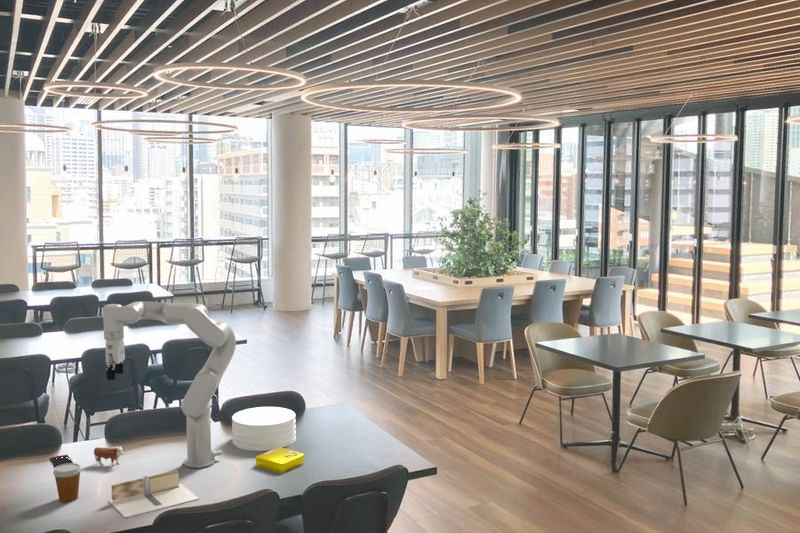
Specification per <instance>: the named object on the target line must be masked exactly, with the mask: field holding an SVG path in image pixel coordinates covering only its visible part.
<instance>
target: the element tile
mask: <svg viewBox="0 0 800 533" xmlns="http://www.w3.org/2000/svg"><path fill="white" fill-rule="evenodd" d="M304 461H305V459H304V453H303V452H299V451H296V450H292V449H289V448H286V447H284V448H281V447H279V448H276V449H273V450H267V451H264V452H263V453H261V454H258V455H256V456H255V466H256V467H257V468H260V469H263V470H266V471H270V472H273V473H278V474H283V473H286V472H288V471H291V470H292V469H296V468H297V467H300V466H301V465H303V464H305V462H304Z"/></svg>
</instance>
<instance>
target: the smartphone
mask: <svg viewBox="0 0 800 533" xmlns="http://www.w3.org/2000/svg"><path fill="white" fill-rule="evenodd" d="M61 457H63V458H61ZM66 457H68V458H69V459H70V460H69V459H68V458H66ZM56 458H57V459H56ZM49 460H50V462H51V464H52V465H53V467H54V466H55V467H57V466H59V465H62V464H67V463H74V462H73V460H72V459H71V458H70V456H69V455H68V454H62V455H57V456H51V457H49ZM55 467H54V468H55Z"/></svg>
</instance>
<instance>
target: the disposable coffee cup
mask: <svg viewBox="0 0 800 533" xmlns="http://www.w3.org/2000/svg"><path fill="white" fill-rule="evenodd" d="M81 471H82V467H81V465H80V464H79V463H74V462H73V463H67V464H62V465H59V466H57V467H54V469H53V472H52V474H53V475H54V479H55V484H56V490H57V495H58V500H59V501H60V502H62V503H70V502H71V503H72V502H74V501H77V500H78V498H79V488H80V480H81V479H80V477H81Z"/></svg>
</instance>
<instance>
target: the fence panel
mask: <svg viewBox="0 0 800 533" xmlns="http://www.w3.org/2000/svg"><path fill="white" fill-rule="evenodd" d="M143 492H144V485H143V477H142V478H137V479H134V480H129V481H125V482H121V483H115V484H112V485H111V500H113V501H115V500H119V499H124V498H128V497H132V496H136V495H140V494H143Z"/></svg>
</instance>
